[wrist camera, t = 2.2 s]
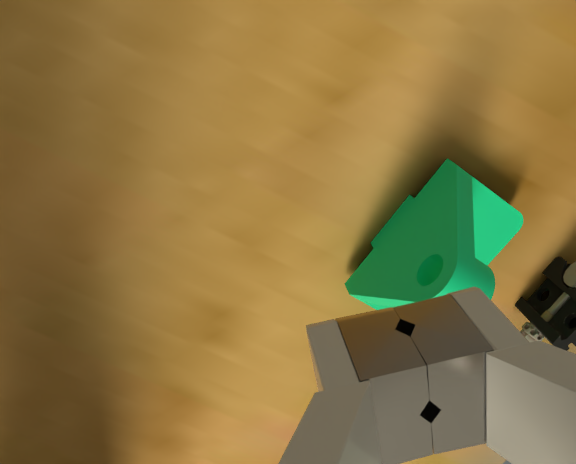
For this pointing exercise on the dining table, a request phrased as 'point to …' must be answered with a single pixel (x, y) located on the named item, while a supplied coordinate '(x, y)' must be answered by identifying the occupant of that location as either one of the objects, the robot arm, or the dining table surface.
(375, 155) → the dining table surface
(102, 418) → the dining table surface
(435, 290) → the camera mount
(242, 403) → the dining table surface
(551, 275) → the scope
